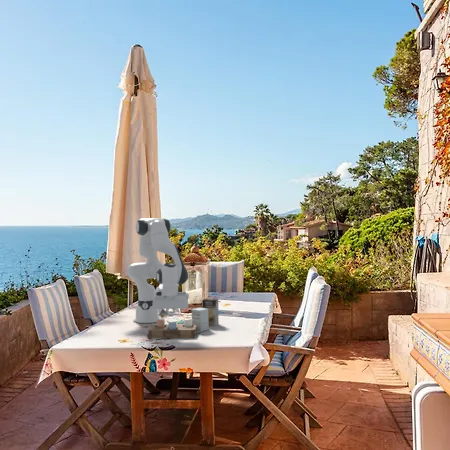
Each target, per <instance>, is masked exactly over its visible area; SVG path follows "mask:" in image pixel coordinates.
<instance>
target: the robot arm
mask: <svg viewBox="0 0 450 450" xmlns="http://www.w3.org/2000/svg"><path fill="white" fill-rule="evenodd" d="M135 230H136V233H137V234H138V236H139V235H140V237H139V250H138V251H139V256H142V258H145V259H146V261H144V262H135V263H132V264H129V265H128V267H127V269H126V274H127V276H128V278H129V279H131V280H132V281H133V283H134V284H135V285H136V288H137V293H138V294H137V295H138V300H137V307H136V308H135V319H133V320H132V321H133V323H134V322H135V323H138V324H151V323H157V320H158V319H162V315H160V314H158V309H162V310H165V311H166V314H167V317H173V318H174V313H175V311H176V310H175V309H179V310H180V309H181V310H182V309H183V310H184V309H186V310H187V309H188V308H189V298H190V297H189V293H187V291H179V286H178V284H179V285H184V284H185V283H186V282H187V281H188V280H189V273H188V269H187V267H186V266H185V264H184V262H183V259H182V256H181V253H180V251H179V249H178V247H177V244H175V243H173V242H172V241H171V239H170V237H169V233H170V232H171V222H170V220H169V219H167V218H157V217H151V218H139V219H138V220H136V224H135ZM157 252H158V253H163V254H166V255H168V256H170V257H171V258H172V261H173V263H172V262H167V263H163V262H162V261H160V259H159V258H158V253H157ZM149 279H155V280H156V282H158V284H159V285H160V284H163V287H162V289H161V290H158V291H156V292H155V290H156V288H155V287H154V285H152V284H150V283H148V280H149ZM170 309H171V310H172V312H170V311H169V310H170Z"/></svg>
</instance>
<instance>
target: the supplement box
mask: <svg viewBox="0 0 450 450" xmlns="http://www.w3.org/2000/svg"><path fill="white" fill-rule="evenodd" d="M191 319H192V324H198V332H199V333H200V332H203V331H208V330H210V329H209V327H210V326H209V321H208V309H207V308H202V307H196V308H192V309H191Z"/></svg>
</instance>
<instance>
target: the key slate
mask: <svg viewBox="0 0 450 450" xmlns="http://www.w3.org/2000/svg"><path fill="white" fill-rule="evenodd" d="M167 323H168V324H167V325H168V330H177V325H178V324H177V321H171V320H170V321H167Z"/></svg>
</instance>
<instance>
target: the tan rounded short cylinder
mask: <svg viewBox="0 0 450 450" xmlns="http://www.w3.org/2000/svg"><path fill="white" fill-rule="evenodd" d="M165 322H166V320H165V319H158V320H157V322H156V325H157V327H165V325H166V324H165Z"/></svg>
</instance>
